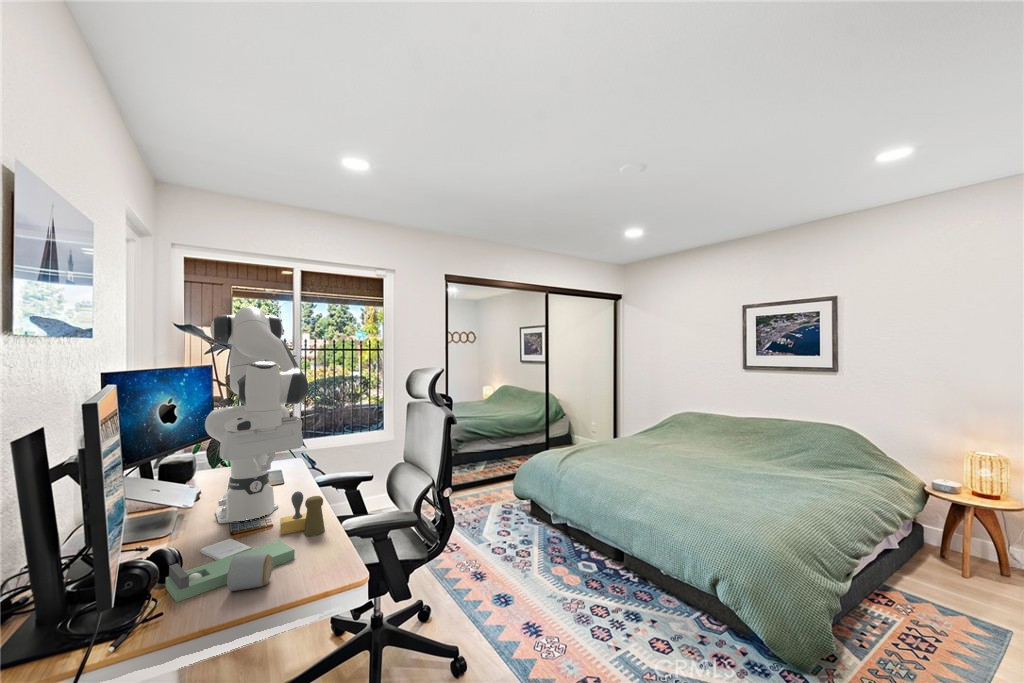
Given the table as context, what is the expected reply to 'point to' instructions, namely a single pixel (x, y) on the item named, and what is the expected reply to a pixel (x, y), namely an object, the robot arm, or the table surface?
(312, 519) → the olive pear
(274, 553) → the putting strip
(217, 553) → the external hard drive
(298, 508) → the rubber stamp
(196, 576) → the ball
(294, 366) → the robot arm
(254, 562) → the ceramic mug
